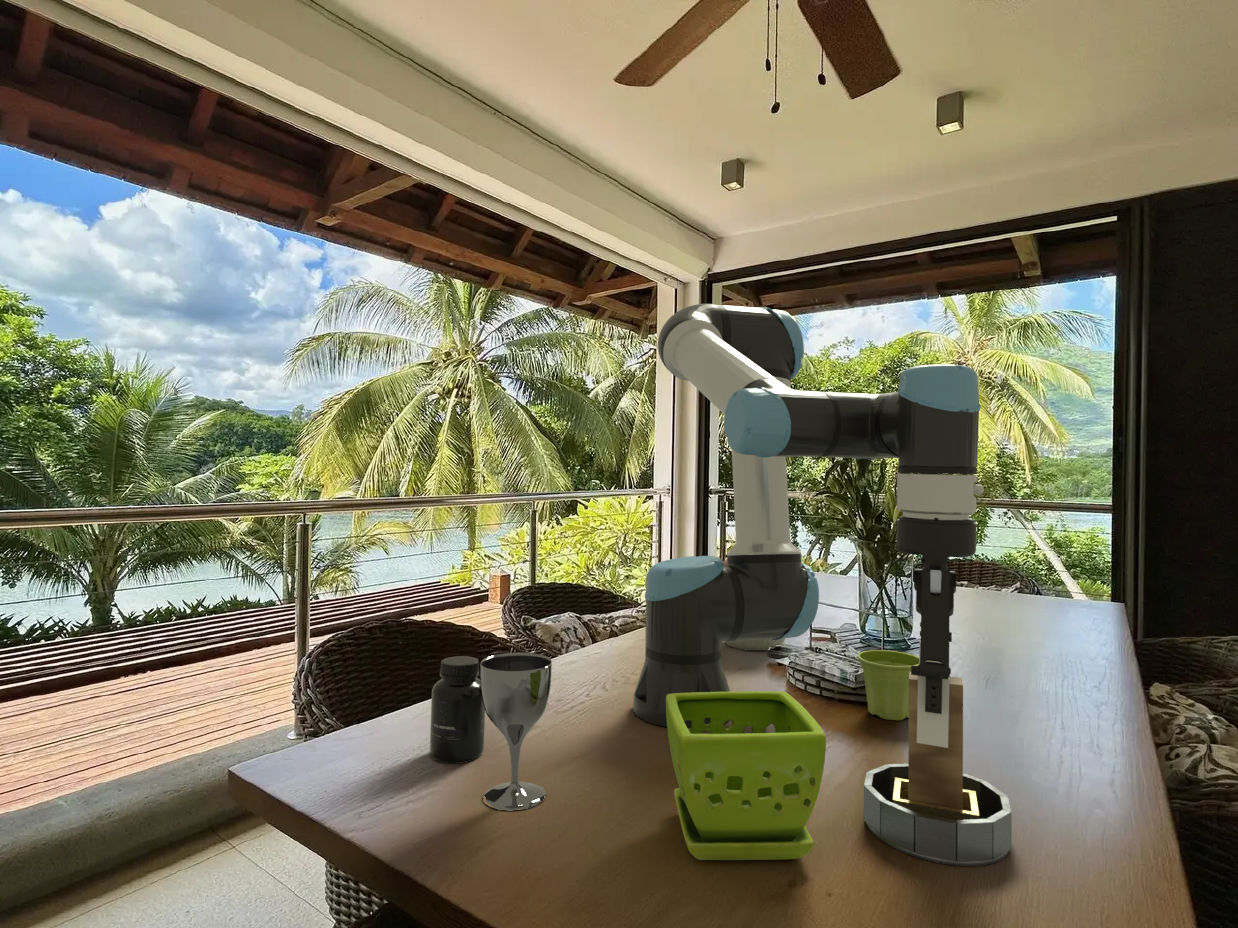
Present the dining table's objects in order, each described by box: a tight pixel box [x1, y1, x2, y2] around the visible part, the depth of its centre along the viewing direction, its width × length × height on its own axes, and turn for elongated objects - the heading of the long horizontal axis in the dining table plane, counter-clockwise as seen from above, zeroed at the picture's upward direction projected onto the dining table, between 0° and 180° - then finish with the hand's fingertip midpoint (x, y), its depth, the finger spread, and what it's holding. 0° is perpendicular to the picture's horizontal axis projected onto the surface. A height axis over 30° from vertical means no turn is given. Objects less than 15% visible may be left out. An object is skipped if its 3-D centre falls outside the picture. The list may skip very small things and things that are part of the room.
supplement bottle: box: [429, 655, 486, 764], centre depth 90 cm, size 7×7×12 cm
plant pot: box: [857, 649, 919, 721], centre depth 107 cm, size 9×9×9 cm
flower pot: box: [666, 690, 827, 861], centre depth 70 cm, size 14×14×13 cm
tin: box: [863, 763, 1012, 867], centre depth 72 cm, size 14×14×4 cm
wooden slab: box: [908, 672, 964, 810], centre depth 72 cm, size 5×3×15 cm, turn 66°
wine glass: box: [479, 652, 553, 812], centre depth 78 cm, size 8×8×15 cm
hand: (931, 720), depth 73 cm, fingers open, 13 cm apart
